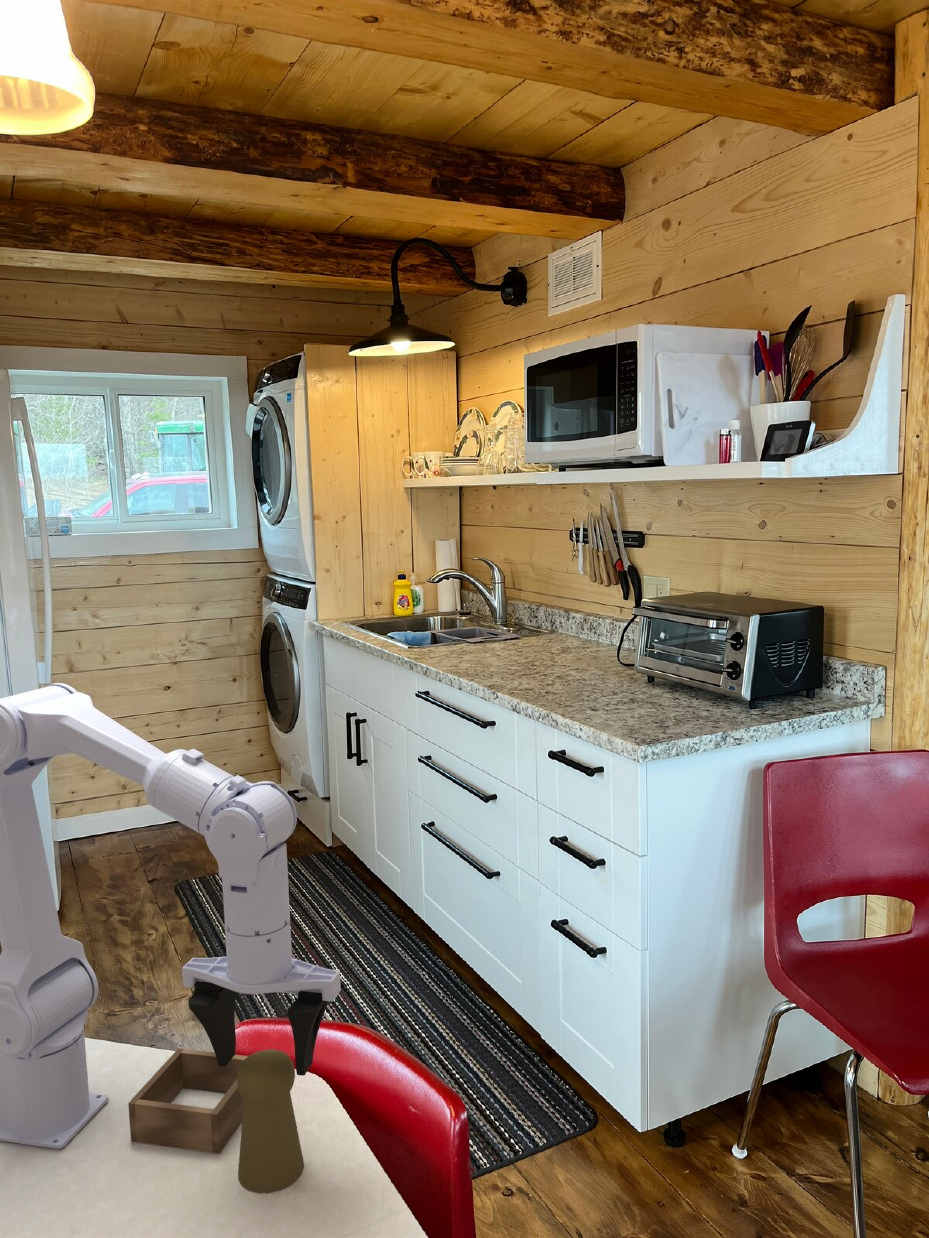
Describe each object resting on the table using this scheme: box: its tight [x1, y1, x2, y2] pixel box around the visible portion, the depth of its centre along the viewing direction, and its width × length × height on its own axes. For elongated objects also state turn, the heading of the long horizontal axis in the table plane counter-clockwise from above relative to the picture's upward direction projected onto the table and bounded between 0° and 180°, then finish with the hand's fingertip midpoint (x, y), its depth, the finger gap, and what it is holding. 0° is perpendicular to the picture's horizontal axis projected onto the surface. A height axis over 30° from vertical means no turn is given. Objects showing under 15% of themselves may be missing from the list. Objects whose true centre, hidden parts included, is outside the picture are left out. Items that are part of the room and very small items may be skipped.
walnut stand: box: [127, 1047, 249, 1154], centre depth 94 cm, size 9×9×4 cm
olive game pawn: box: [237, 1049, 305, 1194], centre depth 86 cm, size 6×6×11 cm
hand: (265, 1064), depth 85 cm, fingers open, 7 cm apart
